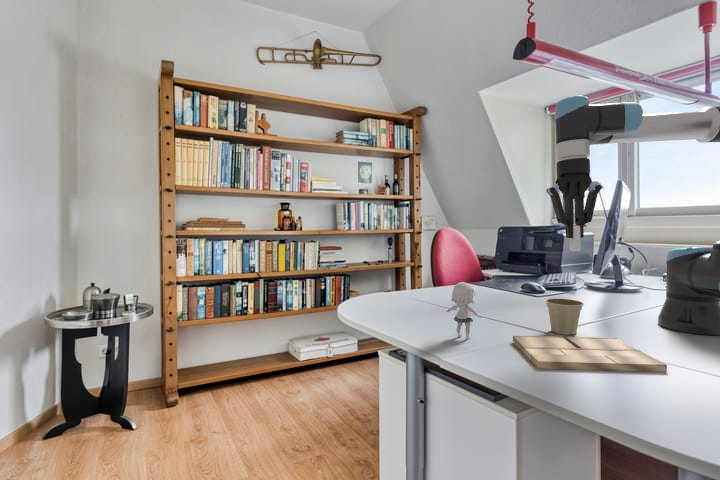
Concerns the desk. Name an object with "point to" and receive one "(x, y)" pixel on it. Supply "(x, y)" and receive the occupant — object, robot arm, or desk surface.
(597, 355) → the floor strip
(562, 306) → the flower pot
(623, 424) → the desk surface
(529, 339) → the plank
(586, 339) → the plank
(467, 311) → the figurine
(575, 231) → the robot arm
